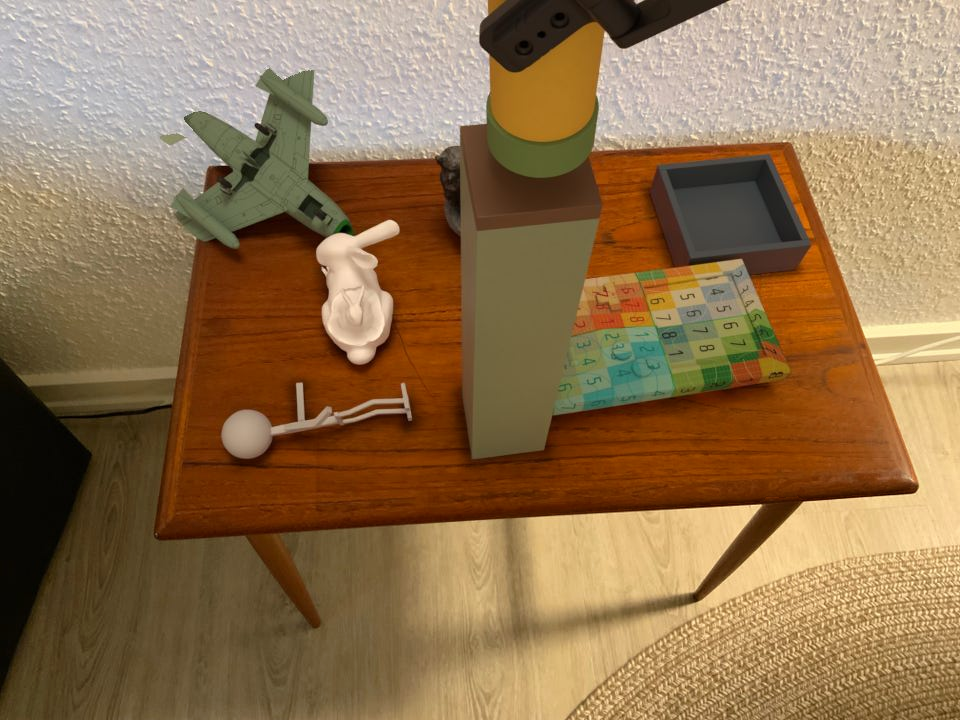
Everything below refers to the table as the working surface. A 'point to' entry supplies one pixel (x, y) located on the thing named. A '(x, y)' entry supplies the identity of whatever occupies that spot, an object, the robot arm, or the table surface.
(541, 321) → the plinth
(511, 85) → the corn toy
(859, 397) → the table surface
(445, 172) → the cat statue
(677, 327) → the puzzle game
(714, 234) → the basket
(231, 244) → the airplane
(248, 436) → the figurine
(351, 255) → the rabbit figurine
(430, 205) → the table surface
